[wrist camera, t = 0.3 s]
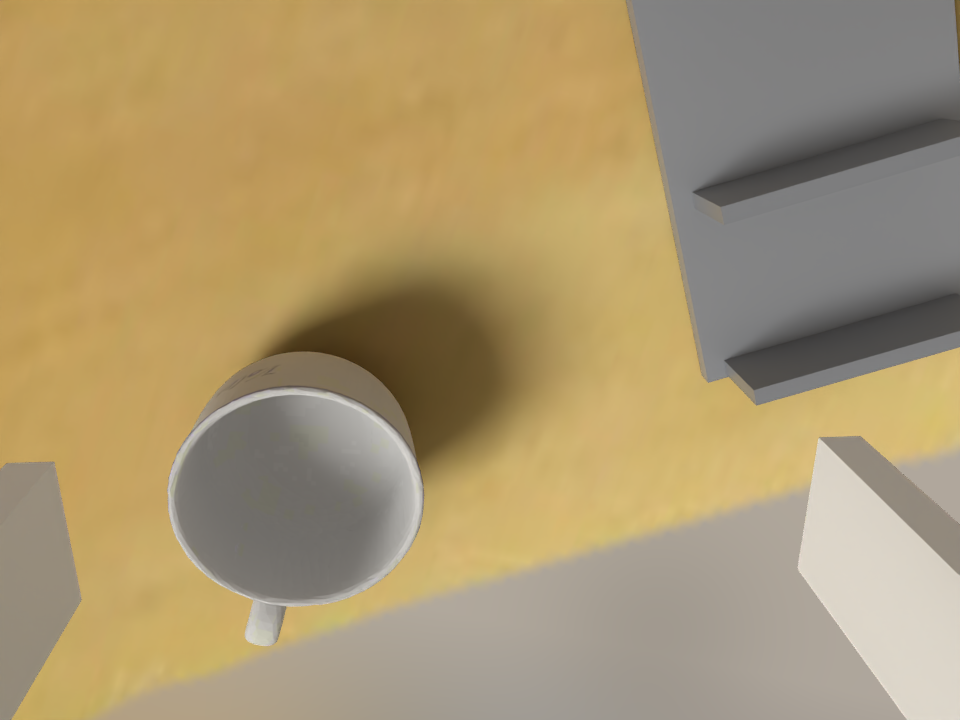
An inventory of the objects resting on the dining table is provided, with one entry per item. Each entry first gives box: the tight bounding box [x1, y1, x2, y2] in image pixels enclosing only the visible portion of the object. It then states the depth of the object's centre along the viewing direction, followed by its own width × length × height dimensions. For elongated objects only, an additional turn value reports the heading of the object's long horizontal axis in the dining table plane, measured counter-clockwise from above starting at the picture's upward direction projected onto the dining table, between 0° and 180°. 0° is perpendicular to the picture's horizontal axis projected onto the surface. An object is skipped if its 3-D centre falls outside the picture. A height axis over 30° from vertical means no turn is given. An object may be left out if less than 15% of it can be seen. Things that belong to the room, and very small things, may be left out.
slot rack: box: [626, 0, 960, 405], centre depth 36 cm, size 30×14×5 cm, turn 16°
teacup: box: [167, 352, 424, 646], centre depth 40 cm, size 14×11×8 cm
